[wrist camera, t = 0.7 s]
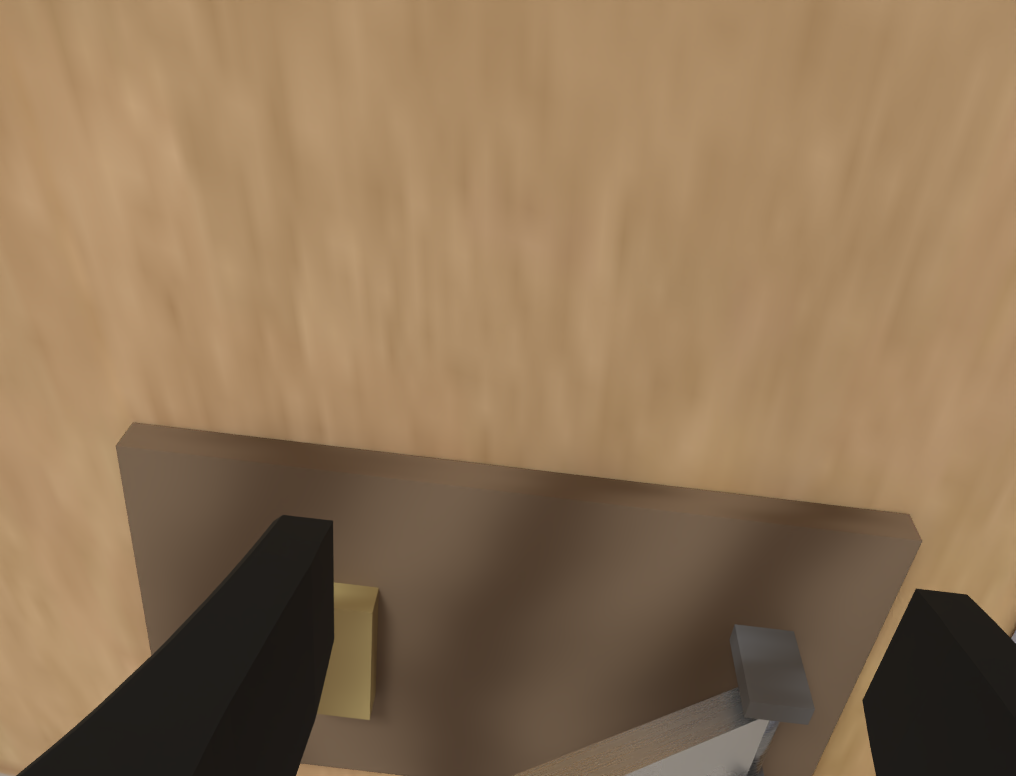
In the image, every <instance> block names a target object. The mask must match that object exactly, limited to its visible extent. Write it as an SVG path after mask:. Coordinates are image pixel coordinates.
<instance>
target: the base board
mask: <svg viewBox="0 0 1016 776" xmlns="http://www.w3.org/2000/svg"><path fill="white" fill-rule="evenodd" d="M116 450H117V456H118V462H119V468H120V474H121V479H122V485H123V491H124V497H125V503H126V509H127V515H128V521H129V526H130V532H131V538H132V544H133V550H134V556H135V562H136V567H137V573H138V579H139V585H140V591H141V597H142V603H143V609H144V614H145V620H146V626H147V632H148V638H149V644H150V650H151V655H153V654H154V653H155V652H156V651H157V650H158V649H159V648H160V647H161V646H162V645H163V644H164V643H165V642H166V641H167V640H168V639H169V638H170V636H171V635H172V634H173V633H174V632H175V631H176V630H177V629H178V628H179V627H180V626H181V625H182V624H183V623H184V622H185V621H186V620H187V619H188V618H189V617H190V616H191V615H192V613H193V612H194V611H195V610H196V609H197V608H198V607H199V606H200V605H201V604H202V603H203V602H204V601H205V600H206V599H207V598H208V597H209V596H210V594H211V593H212V592H213V591H214V590H215V589H216V588H217V587H218V586H219V584H220V583H221V582H222V581H223V580H224V579H225V578H226V577H227V576H228V574H229V573H230V572H231V571H232V570H233V569H234V568H235V567H236V565H237V564H238V563H239V562H240V561H241V560H242V558H243V557H244V556H245V555H246V554H247V553H248V551H249V550H250V549H251V548H252V547H253V545H254V544H255V543H256V542H257V541H258V540H259V538H260V537H261V536H262V535H263V533H264V532H265V531H266V530H267V529H268V527H269V526H270V525H271V524H272V522H273V521H274V520H276V519H277V518H279V517H280V516H282V515H289V516H298V517H307V518H315V519H324V520H332V521H333V555H334V643H333V647H332V651H331V656H330V660H329V665H328V669H327V673H326V678H325V682H324V686H323V690H322V694H321V699H320V703H319V707H318V711H317V715H316V719H315V722H314V725H313V728H312V731H311V734H310V737H309V739H308V742H307V745H306V748H305V751H304V754H303V757H302V759H301V762H300V763H301V764H310V765H318V766H327V767H335V768H344V769H352V770H361V771H369V772H378V773H386V774H395V775H403V776H513V775H516V774H518V773H521V772H523V771H526V770H528V769H531V768H533V767H536V766H538V765H541V764H544V763H546V762H549V761H551V760H554V759H556V758H559V757H561V756H564V755H567V754H569V753H572V752H574V751H577V750H579V749H582V748H584V747H587V746H589V745H592V744H595V743H597V742H600V741H602V740H605V739H607V738H610V737H612V736H615V735H617V734H620V733H623V732H625V731H628V730H630V729H633V728H635V727H638V726H640V725H643V724H646V723H648V722H651V721H653V720H656V719H658V718H661V717H663V716H666V715H668V714H671V713H674V712H676V711H679V710H681V709H684V708H686V707H689V706H691V705H694V704H696V703H699V702H702V701H704V700H707V699H709V698H712V697H714V696H717V695H719V694H722V693H725V692H727V691H730V690H732V689H735V688H737V687H738V688H739V693H740V698H741V703H742V709H743V714H744V717H745V718H753V719H762V720H770V721H778V722H780V723H779V725H778V728H777V730H776V733H775V735H774V737H773V740H772V742H771V745H770V747H769V749H768V752H767V754H766V757H765V759H764V761H763V764H762V766H761V769H760V771H759V774H758V776H812V775H813V773H814V771H815V769H816V766H817V764H818V762H819V760H820V758H821V756H822V754H823V752H824V749H825V747H826V745H827V743H828V741H829V739H830V737H831V734H832V732H833V730H834V728H835V726H836V724H837V722H838V720H839V717H840V715H841V713H842V711H843V709H844V707H845V705H846V703H847V700H848V698H849V696H850V694H851V692H852V690H853V688H854V685H855V683H856V681H857V679H858V677H859V675H860V673H861V671H862V668H863V666H864V664H865V662H866V660H867V658H868V656H869V653H870V651H871V649H872V647H873V645H874V643H875V641H876V639H877V636H878V634H879V632H880V630H881V628H882V626H883V624H884V622H885V619H886V617H887V615H888V613H889V611H890V609H891V607H892V604H893V602H894V600H895V598H896V596H897V594H898V592H899V590H900V587H901V585H902V583H903V581H904V579H905V577H906V575H907V573H908V570H909V568H910V566H911V564H912V562H913V560H914V558H915V555H916V553H917V551H918V549H919V547H920V545H921V543H922V539H921V537H920V535H919V533H918V531H917V529H916V527H915V525H914V523H913V521H912V519H911V517H910V514H901V513H893V512H884V511H876V510H868V509H859V508H851V507H842V506H834V505H825V504H817V503H808V502H800V501H791V500H783V499H774V498H766V497H758V496H749V495H741V494H732V493H724V492H715V491H707V490H698V489H690V488H681V487H673V486H664V485H656V484H648V483H639V482H631V481H622V480H614V479H605V478H597V477H588V476H580V475H571V474H563V473H554V472H546V471H538V470H529V469H521V468H512V467H504V466H495V465H487V464H478V463H470V462H461V461H453V460H444V459H436V458H428V457H419V456H411V455H402V454H394V453H385V452H377V451H368V450H360V449H351V448H343V447H334V446H326V445H318V444H309V443H301V442H292V441H284V440H275V439H267V438H258V437H250V436H241V435H233V434H224V433H216V432H208V431H199V430H191V429H182V428H174V427H165V426H157V425H148V424H140V423H132V424H131V426H130V427H129V428H128V430H127V431H126V432H125V434H124V435H123V436H122V438H121V439H120V441H119V442H118V443H117V445H116Z"/></svg>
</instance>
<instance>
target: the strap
mask: <svg viewBox="0 0 1016 776" xmlns="http://www.w3.org/2000/svg"><path fill="white" fill-rule="evenodd" d="M779 723H780V722H778V721H770V720H762V719H753V718H745V717H744V714H743V709H742V703H741V698H740V693H739V688H738V687H737V688H735V689H732V690H730V691H727V692H725V693H722V694H719V695H717V696H714V697H712V698H709V699H707V700H704V701H702V702H699V703H696V704H694V705H691V706H689V707H686V708H684V709H681V710H679V711H676V712H674V713H671V714H668V715H666V716H663V717H661V718H658V719H656V720H653V721H651V722H648V723H646V724H643V725H640V726H638V727H635V728H633V729H630V730H628V731H625V732H623V733H620V734H617V735H615V736H612V737H610V738H607V739H605V740H602V741H600V742H597V743H595V744H592V745H589V746H587V747H584V748H582V749H579V750H577V751H574V752H572V753H569V754H567V755H564V756H561V757H559V758H556V759H554V760H551V761H549V762H546V763H544V764H541V765H538V766H536V767H533V768H531V769H528V770H526V771H523V772H521V773H518V774H516V775H513V776H758V774H759V771H760V769H761V766H762V764H763V761H764V759H765V757H766V754H767V752H768V749H769V747H770V745H771V742H772V740H773V737H774V735H775V733H776V730H777V728H778V725H779Z"/></svg>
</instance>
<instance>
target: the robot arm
mask: <svg viewBox="0 0 1016 776" xmlns="http://www.w3.org/2000/svg"><path fill="white" fill-rule="evenodd" d="M333 643H334V555H333V521H332V520H324V519H315V518H307V517H298V516H289V515H282V516H280V517H279V518H277V519H276V520H274V521H273V522H272V524H271V525H270V526H269V527H268V529H267V530H266V531H265V532H264V533H263V535H262V536H261V537H260V538H259V540H258V541H257V542H256V543H255V544H254V545H253V547H252V548H251V549H250V550H249V551H248V553H247V554H246V555H245V556H244V557H243V558H242V560H241V561H240V562H239V563H238V564H237V565H236V567H235V568H234V569H233V570H232V571H231V572H230V573H229V574H228V576H227V577H226V578H225V579H224V580H223V581H222V582H221V583H220V584H219V586H218V587H217V588H216V589H215V590H214V591H213V592H212V593H211V594H210V596H209V597H208V598H207V599H206V600H205V601H204V602H203V603H202V604H201V605H200V606H199V607H198V608H197V609H196V610H195V611H194V612H193V613H192V615H191V616H190V617H189V618H188V619H187V620H186V621H185V622H184V623H183V624H182V625H181V626H180V627H179V628H178V629H177V630H176V631H175V632H174V633H173V634H172V635H171V636H170V638H169V639H168V640H167V641H166V642H165V643H164V644H163V645H162V646H161V647H160V648H159V649H158V650H157V651H156V652H155V653H154V654H153V655H152V656H151V657H150V658H148V659H147V660H146V661H145V662H144V663H143V664H142V665H141V666H140V667H139V668H138V669H137V670H136V671H135V672H134V673H133V674H132V675H130V676H129V677H128V678H127V679H126V680H125V681H124V682H123V683H122V684H121V685H120V686H119V687H118V688H117V689H116V690H115V691H114V692H113V693H111V694H110V695H109V696H108V697H107V698H106V699H105V700H104V701H103V702H102V703H101V704H100V705H99V706H98V707H97V708H95V709H94V710H93V711H92V712H91V713H90V714H89V715H88V716H86V717H85V718H84V719H83V720H82V721H81V722H80V723H78V724H77V725H76V726H75V727H74V728H73V729H72V730H71V731H69V732H68V733H67V734H66V735H65V736H64V737H62V738H61V739H60V740H59V741H58V742H56V743H55V744H54V745H53V746H52V747H51V748H49V749H48V750H47V751H46V752H44V753H43V754H42V755H41V756H40V757H38V758H37V759H36V760H35V761H34V762H32V763H31V764H30V765H29V766H27V767H26V768H25V769H24V770H23V771H21V772H20V773H19V774H18V775H16V776H296V774H297V771H298V768H299V765H300V762H301V759H302V757H303V754H304V751H305V748H306V745H307V742H308V739H309V737H310V734H311V731H312V728H313V725H314V722H315V719H316V715H317V711H318V707H319V703H320V699H321V694H322V690H323V686H324V682H325V678H326V673H327V669H328V665H329V660H330V656H331V651H332V647H333ZM863 706H864V712H865V718H866V724H867V730H868V736H869V741H870V747H871V752H872V757H873V762H874V767H875V772H876V776H1016V631H1015V633H1014V634H1013V636H1012V638H1010V637H1009V636H1008V635H1007V634H1006V633H1005V632H1004V631H1003V630H1002V629H1001V628H1000V627H999V626H998V625H997V624H996V623H995V622H994V621H993V620H992V619H991V618H990V617H989V616H988V615H987V614H986V613H985V612H984V611H983V610H982V609H981V608H980V607H979V606H978V605H977V604H976V603H975V602H974V601H973V600H972V599H971V598H970V597H969V596H968V595H966V594H957V593H949V592H940V591H932V590H923V589H916V590H915V592H914V594H913V596H912V598H911V600H910V602H909V604H908V607H907V609H906V611H905V613H904V615H903V617H902V619H901V621H900V623H899V625H898V627H897V630H896V632H895V634H894V636H893V638H892V640H891V642H890V644H889V646H888V648H887V650H886V652H885V655H884V657H883V659H882V661H881V663H880V665H879V667H878V669H877V671H876V673H875V675H874V678H873V680H872V682H871V684H870V686H869V688H868V690H867V692H866V694H865V696H864V698H863Z"/></svg>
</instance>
